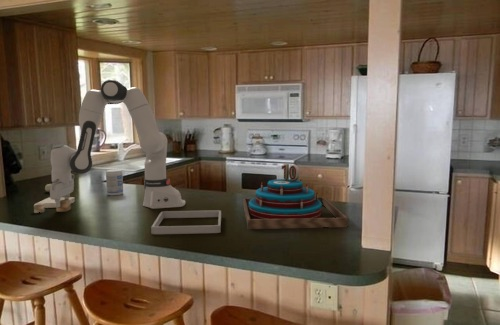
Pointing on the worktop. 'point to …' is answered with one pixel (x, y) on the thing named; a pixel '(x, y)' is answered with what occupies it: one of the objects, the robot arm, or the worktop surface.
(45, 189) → the flower vase
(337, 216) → the walnut cake board rim
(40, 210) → the maple block
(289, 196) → the birthday cake
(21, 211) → the worktop surface
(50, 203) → the plate
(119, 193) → the supplement tub
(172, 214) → the grey tray rim
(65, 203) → the oak block
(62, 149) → the robot arm
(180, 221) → the worktop surface
